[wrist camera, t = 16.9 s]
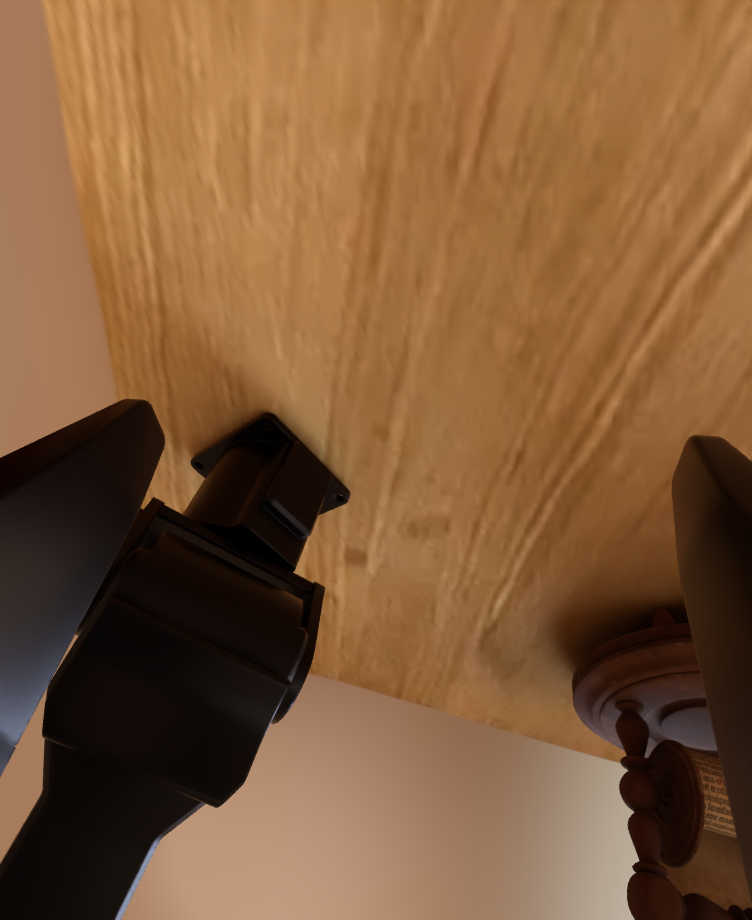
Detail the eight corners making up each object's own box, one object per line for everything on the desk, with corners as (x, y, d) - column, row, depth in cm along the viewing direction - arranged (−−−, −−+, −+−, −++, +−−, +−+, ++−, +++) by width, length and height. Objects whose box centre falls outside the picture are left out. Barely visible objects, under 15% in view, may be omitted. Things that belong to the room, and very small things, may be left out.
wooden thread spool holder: (538, 690, 39) (540, 1122, 25) (635, 568, 29) (737, 1181, 14) (748, 747, 38) (878, 1229, 24) (923, 643, 28) (1335, 1369, 14)
